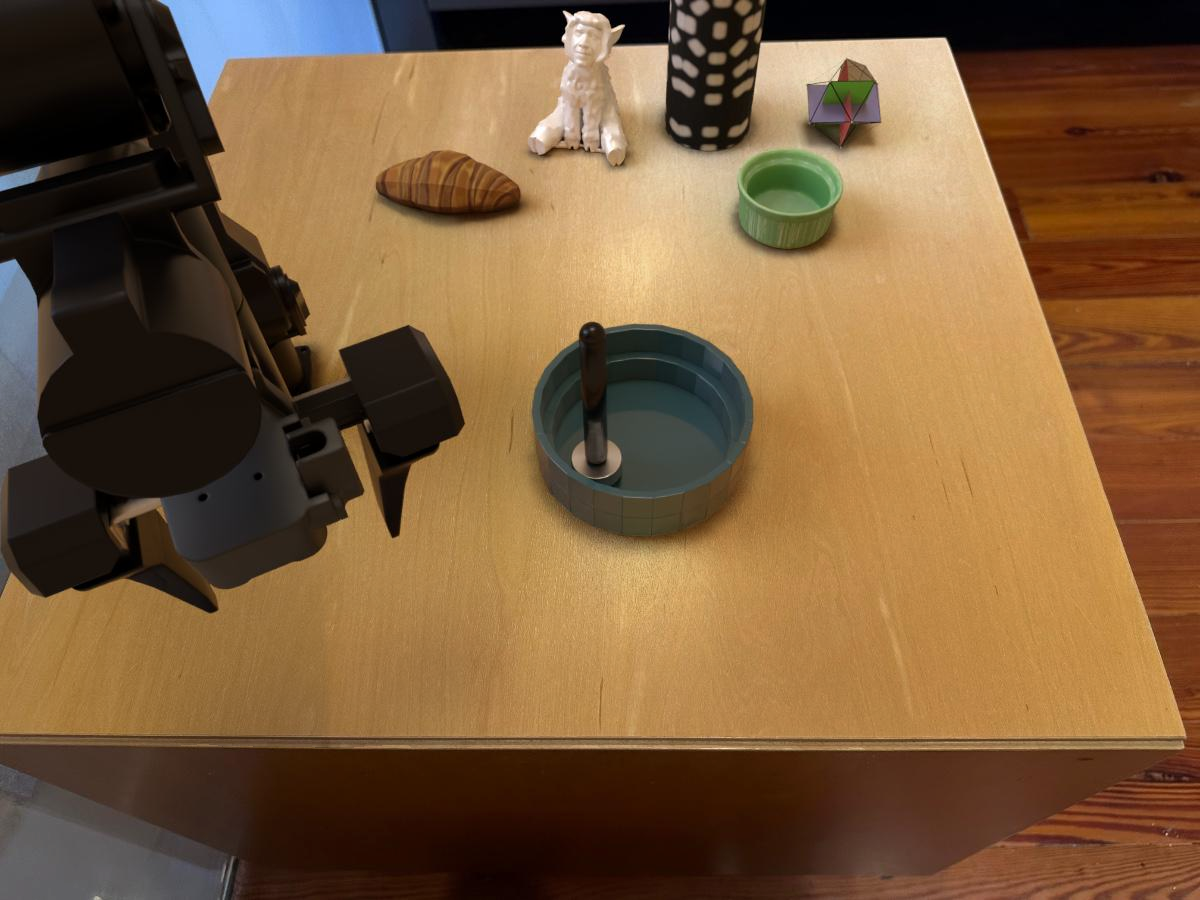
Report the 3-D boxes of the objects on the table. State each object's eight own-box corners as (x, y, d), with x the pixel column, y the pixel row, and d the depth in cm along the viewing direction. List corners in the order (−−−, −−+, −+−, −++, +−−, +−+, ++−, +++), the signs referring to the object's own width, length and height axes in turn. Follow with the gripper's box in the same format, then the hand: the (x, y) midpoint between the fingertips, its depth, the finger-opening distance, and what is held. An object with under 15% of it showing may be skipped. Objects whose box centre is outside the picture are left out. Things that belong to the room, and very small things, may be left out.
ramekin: (774, 174, 86) (781, 134, 82) (854, 218, 82) (865, 178, 78) (712, 221, 82) (716, 181, 78) (792, 270, 78) (801, 230, 75)
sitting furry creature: (526, 155, 88) (515, 37, 78) (549, 103, 93) (541, -15, 83) (623, 168, 86) (624, 50, 77) (641, 114, 91) (644, -4, 81)
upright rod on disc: (602, 440, 67) (598, 294, 55) (632, 472, 65) (635, 330, 53) (561, 464, 66) (548, 321, 53) (591, 498, 64) (584, 358, 52)
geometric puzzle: (887, 147, 84) (895, 53, 82) (812, 148, 84) (818, 53, 82) (866, 148, 91) (873, 61, 89) (797, 148, 91) (802, 61, 89)
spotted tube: (752, 151, 88) (782, -66, 71) (665, 151, 88) (675, -65, 72) (746, 99, 92) (773, -115, 76) (663, 99, 93) (673, -115, 76)
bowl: (523, 389, 71) (517, 341, 67) (713, 358, 73) (719, 309, 68) (556, 558, 63) (552, 516, 58) (771, 519, 64) (782, 475, 60)
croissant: (367, 219, 83) (354, 174, 79) (388, 171, 87) (377, 126, 83) (514, 232, 82) (508, 187, 77) (528, 183, 85) (524, 137, 81)
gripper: (-120, 563, 27) (128, 792, 38) (466, 346, 31) (537, 608, 43) (-90, 359, 35) (110, 600, 46) (381, 205, 39) (460, 459, 50)
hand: (305, 567), depth 46 cm, fingers open, 9 cm apart
